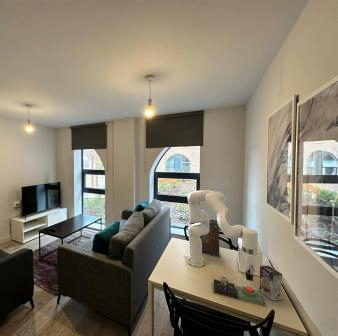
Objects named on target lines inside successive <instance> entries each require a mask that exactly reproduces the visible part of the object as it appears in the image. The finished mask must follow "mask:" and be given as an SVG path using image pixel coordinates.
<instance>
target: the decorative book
mask: <svg viewBox="0 0 338 336" xmlns="http://www.w3.org/2000/svg"><path fill="white" fill-rule="evenodd" d="M189 221H190V220H189ZM193 224H198V223H192V222H191V221H190V223H189V226H190V225H193ZM220 231H221V229H220V227H219V225H218V222H217V219H209V233H208V234H206V235H202V236H200V239H201V241H202V254H203V255H209V256H211V257H217V258H220V257H221V256H220V253H221V251H220Z"/></svg>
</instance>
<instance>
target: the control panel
mask: <svg viewBox="0 0 338 336" xmlns="http://www.w3.org/2000/svg"><path fill="white" fill-rule="evenodd" d="M213 292H214V294H217V295H221V296H225V297H229V298H232V299H238V294H237V290H236V284H235V283H232V282H228V288H223V287H222V286H221V280H218V279H213Z"/></svg>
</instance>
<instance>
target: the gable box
mask: <svg viewBox="0 0 338 336" xmlns="http://www.w3.org/2000/svg"><path fill="white" fill-rule="evenodd" d="M247 228H248V229H250V228H249V227H247ZM255 259H256V270H255V272H254V271H253V276H257V277H260V266H263V251H262V248H261V246H260V243H259V242H258V252H257V255H255ZM237 260H238V268H239V272H241V273H244V274H246V270H245V268H244V265H243V251H242V237H241V238H237Z"/></svg>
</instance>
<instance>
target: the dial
mask: <svg viewBox="0 0 338 336" xmlns="http://www.w3.org/2000/svg"><path fill="white" fill-rule="evenodd" d="M220 281H221V286H222V287H223V288H228V283H229V278H228V277H226V276H224V275H222V276H221V277H220Z"/></svg>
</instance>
